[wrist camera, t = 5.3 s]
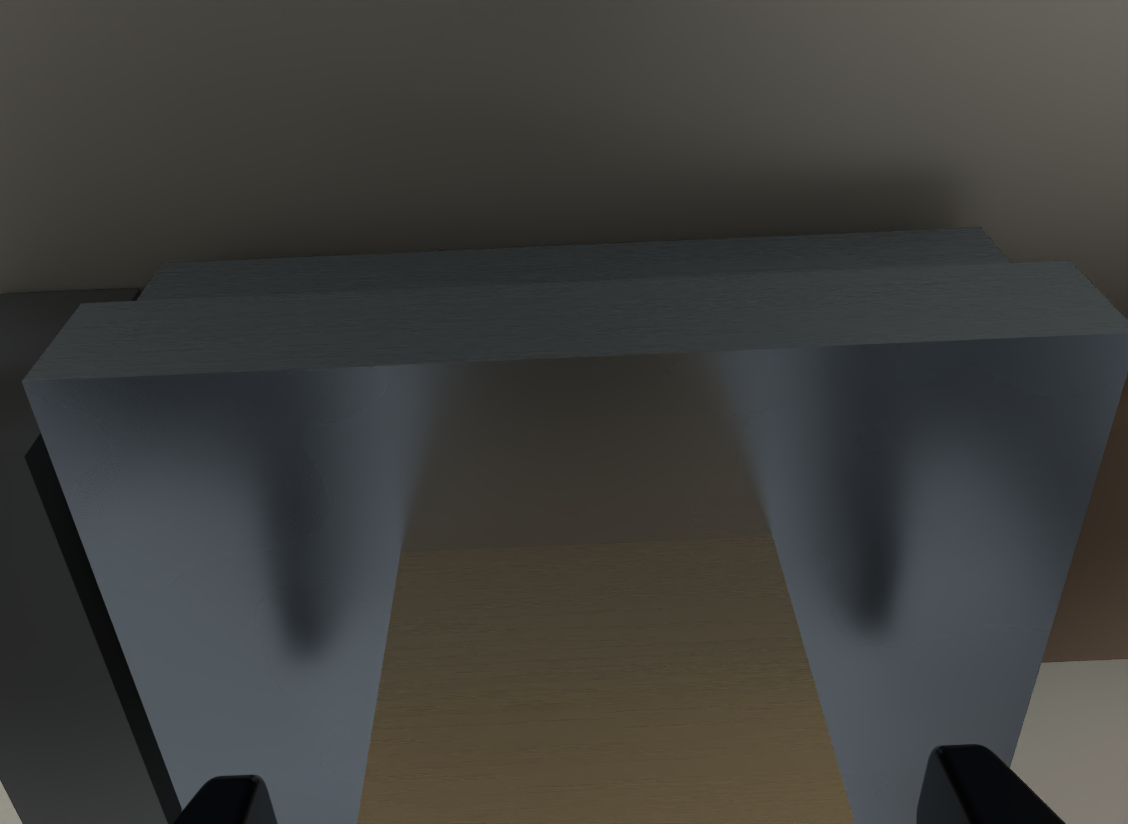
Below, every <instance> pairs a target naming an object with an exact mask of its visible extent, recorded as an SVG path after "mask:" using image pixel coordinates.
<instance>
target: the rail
mask: <svg viewBox="0 0 1128 824" xmlns="http://www.w3.org/2000/svg"><path fill="white" fill-rule="evenodd" d="M140 294H141V291H140V288H129V289H106V290H83V291H61V292H38V293H15V294H0V780H1V782H2V784H3V786H4V788H5V790H6V792H7V794H8V796H9V798H10V800H11V802H12V804H13V806H14V808H15V810H16V812H17V814H18V816H19V817H20V819H21V821H22V823H23V824H172V823H173V821H174V820H175V819H176V818H177V816H178V815H179V814H180V813H181V810H182V808H181V805H180V802H179V800H178V797H177V794H176V792H175V789H174V786H173V784H172V781H171V778H170V776H169V773H168V770H167V768H166V765H165V762H164V760H163V757H162V754H161V752H160V749H159V746H158V744H157V741H156V738H155V736H154V733H153V730H152V728H151V725H150V722H149V720H148V717H147V714H146V712H145V709H144V706H143V704H142V701H141V698H140V696H139V693H138V690H137V688H136V685H135V682H134V680H133V677H132V674H131V672H130V669H129V666H128V664H127V661H126V658H125V656H124V653H123V650H122V648H121V645H120V642H119V640H118V637H117V634H116V632H115V629H114V626H113V624H112V621H111V618H110V616H109V613H108V610H107V608H106V605H105V602H104V600H103V597H102V594H101V592H100V589H99V586H98V584H97V581H96V578H95V576H94V573H93V570H92V568H91V565H90V562H89V560H88V557H87V554H86V552H85V549H84V546H83V544H82V541H81V538H80V536H79V533H78V530H77V528H76V525H75V522H74V520H73V517H72V514H71V512H70V509H69V506H68V504H67V501H66V498H65V496H64V493H63V490H62V488H61V485H60V482H59V480H58V477H57V474H56V472H55V469H54V466H53V464H52V461H51V458H50V456H49V453H48V450H47V448H46V445H45V442H44V440H43V437H42V434H41V432H40V429H39V426H38V424H37V421H36V418H35V416H34V413H33V410H32V408H31V405H30V402H29V400H28V397H27V394H26V392H25V389H24V386H23V384H22V380H23V379H24V378H25V376H26V375H27V374H28V372H29V371H30V370H31V368H32V367H33V366H34V364H35V363H36V362H37V361H38V359H39V358H40V357H41V355H42V354H43V353H44V351H45V350H46V349H47V348H48V346H49V345H50V344H51V342H52V341H53V340H54V338H55V337H56V336H57V334H58V333H59V332H60V331H61V329H62V328H63V327H64V325H65V324H66V323H67V321H68V320H69V319H70V317H71V316H72V315H73V314H74V312H75V311H76V310H77V308H78V307H79V306H80V304H81V303H99V302H122V301H136V300H137V299H138V297H139V296H140ZM1110 659H1128V373H1127V377H1126V380H1125V383H1124V387H1123V390H1122V393H1121V397H1120V400H1119V404H1118V407H1117V410H1116V414H1115V417H1114V420H1113V424H1112V427H1111V430H1110V434H1109V437H1108V440H1107V444H1106V447H1105V450H1104V454H1103V457H1102V460H1101V464H1100V467H1099V471H1098V474H1097V477H1096V481H1095V484H1094V487H1093V491H1092V494H1091V497H1090V501H1089V504H1088V507H1087V511H1086V514H1085V517H1084V521H1083V524H1082V527H1081V531H1080V534H1079V537H1078V541H1077V544H1076V548H1075V551H1074V554H1073V558H1072V561H1071V564H1070V568H1069V571H1068V574H1067V578H1066V581H1065V584H1064V588H1063V591H1062V594H1061V598H1060V601H1059V604H1058V608H1057V611H1056V615H1055V618H1054V621H1053V625H1052V628H1051V631H1050V635H1049V638H1048V641H1047V645H1046V648H1045V651H1044V655H1043V658H1042V661H1041V662H1064V661H1087V660H1110Z"/></svg>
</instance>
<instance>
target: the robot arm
mask: <svg viewBox="0 0 1128 824" xmlns="http://www.w3.org/2000/svg"><path fill="white" fill-rule="evenodd" d="M916 823H917V824H1066V823H1065V822H1064V821H1062V820H1061V819H1060V818H1059V817H1058V816H1057V815H1056V814H1055V813H1054V812H1053V811H1052V810H1051V809H1050V808H1049V807H1048V806H1047V805H1046V804H1045V803H1044V802H1043V801H1042V800H1041V799H1040V798H1039V797H1038V796H1037V795H1036V794H1035V793H1034V792H1033V791H1032V790H1031V789H1030V788H1029V787H1028V786H1027V785H1026V784H1025V783H1024V782H1023V781H1022V780H1021V779H1020V778H1019V777H1018V776H1017V775H1016V774H1015V773H1014V772H1013V771H1012V770H1011V769H1010V768H1009V767H1008V766H1007V765H1006V764H1005V763H1004V762H1003V761H1002V760H1001V759H1000V758H999V757H998V756H997V755H996V754H995V753H994V752H993V751H991V750H990V749H988V748H987V747H985V746H983V745H979V744H958V745H940V746H936V747H935V748H934V749H933V750H932V751H931V753H930V755H929V758H928V762H927V766H926V770H925V775H924V779H923V783H922V787H921V792H920V796H919V800H918V805H917V811H916ZM172 824H278V823H277V819H276V816H275V812H274V809H273V806H272V802H271V799H270V796H269V792H268V789H267V786H266V784H265V782H264V780H263V779H262V778H261V777H260V776H258V775H254V774H250V775H226V776H217V777H214V778H212V779H210V780H208V781H207V782H206V783H205V784H204V785H203V786H202V787H201V788H200V789H199V791H198V792H197V793H196V794H195V796H194V797H193V798H192V799H191V800H190V802H189V803H188V804H187V805H186V807H185V808H184V809H183V810H182V812H181V813H180V814H179V815H178V816H177V818H176V819H175V820H174V821H173V823H172Z"/></svg>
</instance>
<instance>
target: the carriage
mask: <svg viewBox="0 0 1128 824" xmlns="http://www.w3.org/2000/svg"><path fill="white" fill-rule="evenodd" d="M1127 373H1128V320H1127V319H1126V318H1125V317H1124V316H1123V315H1122V314H1121V313H1120V312H1119V311H1118V310H1117V309H1116V308H1115V307H1114V306H1113V304H1112V303H1111V302H1110V301H1109V300H1108V299H1107V298H1106V297H1105V296H1104V295H1103V294H1102V293H1101V292H1100V291H1099V290H1098V289H1097V288H1096V287H1095V286H1094V285H1093V284H1092V283H1091V282H1090V281H1089V280H1088V279H1087V278H1086V277H1085V276H1084V275H1083V274H1082V273H1081V272H1080V271H1079V269H1078V268H1077V267H1076V266H1075V265H1074V264H1073V263H1072V262H1071V261H1070V260H1058V261H1035V262H1012V263H1011V262H1010V261H1009V260H1008V259H1007V257H1006V256H1005V255H1004V254H1003V253H1002V252H1001V250H1000V249H999V248H998V247H997V246H996V245H995V243H994V242H993V241H992V240H991V239H990V238H989V237H988V235H987V234H986V233H985V232H984V231H983V230H982V228H981V227H973V228H950V229H927V230H904V231H881V232H858V233H836V234H813V235H790V236H767V237H744V238H722V239H699V240H676V241H653V242H630V243H608V244H585V245H562V246H539V247H516V248H494V249H471V250H448V251H425V252H402V253H380V254H357V255H334V256H311V257H288V258H265V259H243V260H220V261H197V262H174V263H161V265H160V266H159V268H158V269H157V271H156V272H155V274H154V275H153V277H152V278H151V280H150V281H149V283H148V284H147V286H146V287H145V289H144V290H143V291H142V293H141V294H140V296H139V297H138V299H137V300H136V301H122V302H99V303H81V304H80V306H79V307H78V308H77V310H76V311H75V312H74V314H73V315H72V316H71V317H70V319H69V320H68V321H67V323H66V324H65V325H64V327H63V328H62V329H61V331H60V332H59V333H58V334H57V336H56V337H55V338H54V340H53V341H52V342H51V344H50V345H49V346H48V348H47V349H46V350H45V351H44V353H43V354H42V355H41V357H40V358H39V359H38V361H37V362H36V363H35V364H34V366H33V367H32V368H31V370H30V371H29V372H28V374H27V375H26V376H25V378H24V379H23V380H22V384H23V386H24V389H25V392H26V394H27V397H28V400H29V402H30V405H31V408H32V410H33V413H34V416H35V418H36V421H37V424H38V426H39V429H40V432H41V434H42V437H43V440H44V442H45V445H46V448H47V450H48V453H49V456H50V458H51V461H52V464H53V466H54V469H55V472H56V474H57V477H58V480H59V482H60V485H61V488H62V490H63V493H64V496H65V498H66V501H67V504H68V506H69V509H70V512H71V514H72V517H73V520H74V522H75V525H76V528H77V530H78V533H79V536H80V538H81V541H82V544H83V546H84V549H85V552H86V554H87V557H88V560H89V562H90V565H91V568H92V570H93V573H94V576H95V578H96V581H97V584H98V586H99V589H100V592H101V594H102V597H103V600H104V602H105V605H106V608H107V610H108V613H109V616H110V618H111V621H112V624H113V626H114V629H115V632H116V634H117V637H118V640H119V642H120V645H121V648H122V650H123V653H124V656H125V658H126V661H127V664H128V666H129V669H130V672H131V674H132V677H133V680H134V682H135V685H136V688H137V690H138V693H139V696H140V698H141V701H142V704H143V706H144V709H145V712H146V714H147V717H148V720H149V722H150V725H151V728H152V730H153V733H154V736H155V738H156V741H157V744H158V746H159V749H160V752H161V754H162V757H163V760H164V762H165V765H166V768H167V770H168V773H169V776H170V778H171V781H172V784H173V786H174V789H175V792H176V794H177V797H178V800H179V802H180V805H181V808H182V810H183V809H184V808H185V807H186V805H187V804H188V803H189V802H190V800H191V799H192V798H193V797H194V796H195V794H196V793H197V792H198V791H199V789H200V788H201V787H202V786H203V785H204V784H205V783H206V782H207V781H208V780H210V779H212V778H214V777H217V776H226V775H250V774H254V775H258V776H260V777H261V778H262V779H263V780H264V782H265V784H266V786H267V789H268V792H269V796H270V799H271V802H272V806H273V809H274V812H275V816H276V819H277V823H278V824H917V823H916V811H917V805H918V800H919V796H920V792H921V787H922V783H923V779H924V775H925V770H926V766H927V762H928V758H929V755H930V753H931V751H932V750H933V749H934V748H935V747H936V746H940V745H958V744H979V745H983V746H985V747H987V748H988V749H990V750H991V751H993V752H994V753H995V754H996V755H997V756H998V757H999V758H1000V759H1001V760H1002V761H1003V762H1004V763H1005V764H1006V765H1007V766H1008V767H1009V768H1010V765H1011V762H1012V759H1013V755H1014V752H1015V748H1016V745H1017V742H1018V738H1019V735H1020V732H1021V728H1022V725H1023V722H1024V718H1025V715H1026V712H1027V708H1028V705H1029V702H1030V698H1031V695H1032V692H1033V688H1034V685H1035V681H1036V678H1037V675H1038V671H1039V668H1040V665H1041V661H1042V658H1043V655H1044V651H1045V648H1046V645H1047V641H1048V638H1049V635H1050V631H1051V628H1052V625H1053V621H1054V618H1055V615H1056V611H1057V608H1058V604H1059V601H1060V598H1061V594H1062V591H1063V588H1064V584H1065V581H1066V578H1067V574H1068V571H1069V568H1070V564H1071V561H1072V558H1073V554H1074V551H1075V548H1076V544H1077V541H1078V537H1079V534H1080V531H1081V527H1082V524H1083V521H1084V517H1085V514H1086V511H1087V507H1088V504H1089V501H1090V497H1091V494H1092V491H1093V487H1094V484H1095V481H1096V477H1097V474H1098V471H1099V467H1100V464H1101V460H1102V457H1103V454H1104V450H1105V447H1106V444H1107V440H1108V437H1109V434H1110V430H1111V427H1112V424H1113V420H1114V417H1115V414H1116V410H1117V407H1118V404H1119V400H1120V397H1121V393H1122V390H1123V387H1124V383H1125V380H1126V377H1127Z"/></svg>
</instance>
